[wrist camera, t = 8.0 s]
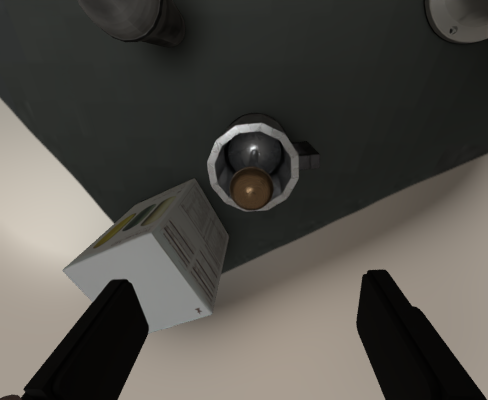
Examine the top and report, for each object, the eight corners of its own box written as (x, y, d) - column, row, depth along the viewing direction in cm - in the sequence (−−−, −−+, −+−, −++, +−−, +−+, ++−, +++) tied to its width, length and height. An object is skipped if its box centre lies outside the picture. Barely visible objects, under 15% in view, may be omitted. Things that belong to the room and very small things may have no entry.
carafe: (303, 107, 34) (324, 114, 23) (303, 175, 38) (321, 208, 27) (217, 116, 35) (198, 127, 24) (226, 181, 39) (214, 215, 29)
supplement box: (195, 175, 39) (152, 231, 24) (230, 236, 44) (214, 316, 28) (133, 204, 42) (58, 270, 27) (172, 258, 47) (127, 341, 31)
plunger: (279, 122, 32) (296, 147, 17) (281, 174, 35) (297, 233, 20) (225, 128, 33) (197, 156, 18) (232, 178, 36) (213, 238, 21)
